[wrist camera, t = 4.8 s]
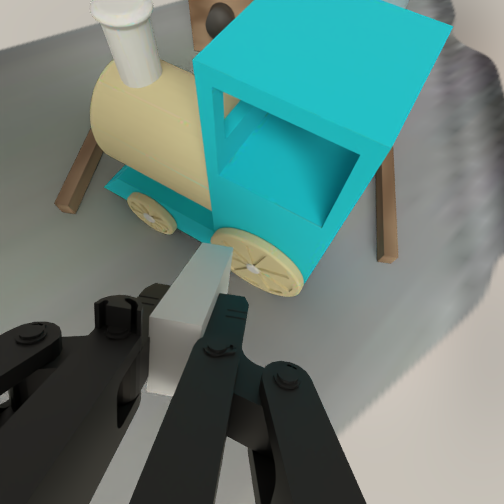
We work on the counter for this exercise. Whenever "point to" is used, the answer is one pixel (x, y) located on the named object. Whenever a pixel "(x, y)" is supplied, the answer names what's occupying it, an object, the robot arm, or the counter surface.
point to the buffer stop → (212, 18)
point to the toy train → (260, 123)
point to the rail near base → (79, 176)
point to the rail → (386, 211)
